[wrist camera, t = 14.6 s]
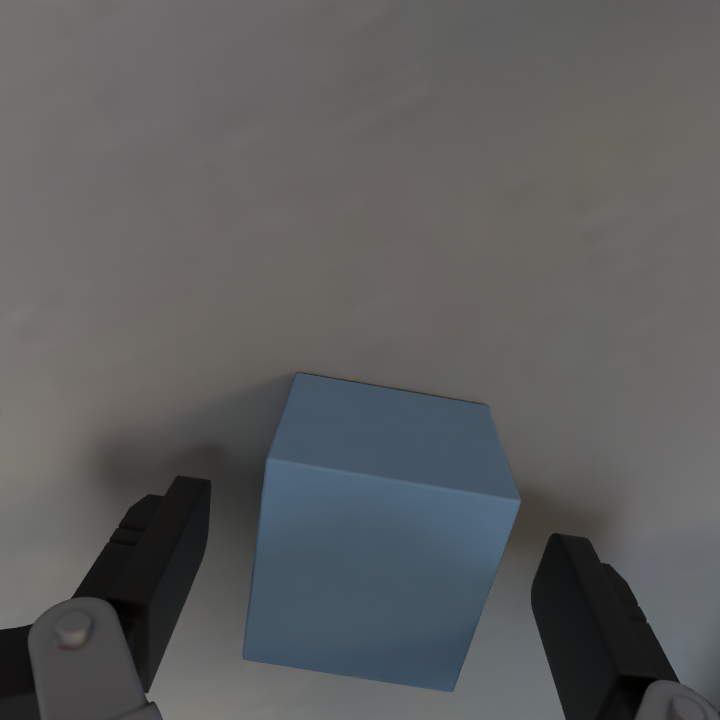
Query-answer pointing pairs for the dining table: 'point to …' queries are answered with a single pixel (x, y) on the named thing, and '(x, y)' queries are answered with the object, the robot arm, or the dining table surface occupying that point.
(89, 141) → the dining table surface
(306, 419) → the block
